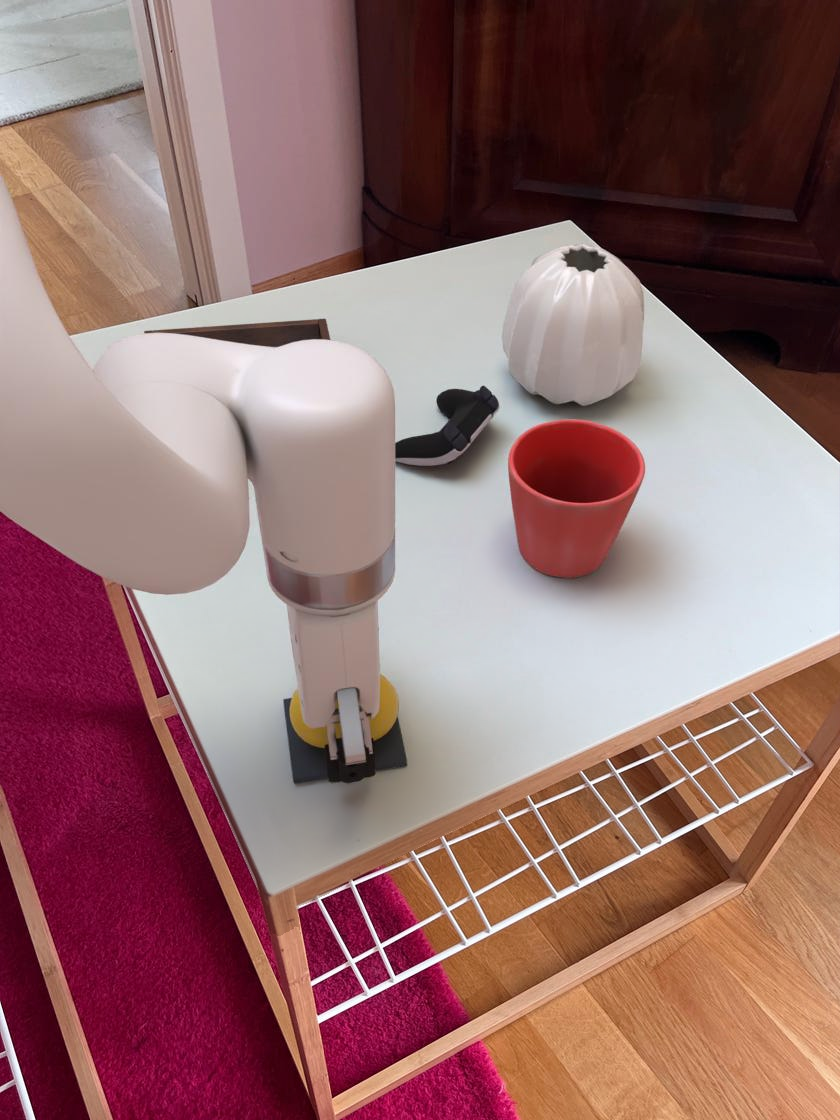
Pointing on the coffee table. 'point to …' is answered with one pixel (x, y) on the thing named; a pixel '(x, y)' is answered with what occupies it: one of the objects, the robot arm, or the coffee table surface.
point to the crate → (260, 332)
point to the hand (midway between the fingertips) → (342, 722)
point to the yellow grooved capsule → (319, 735)
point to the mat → (312, 759)
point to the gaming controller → (450, 428)
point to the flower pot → (571, 493)
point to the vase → (575, 325)
